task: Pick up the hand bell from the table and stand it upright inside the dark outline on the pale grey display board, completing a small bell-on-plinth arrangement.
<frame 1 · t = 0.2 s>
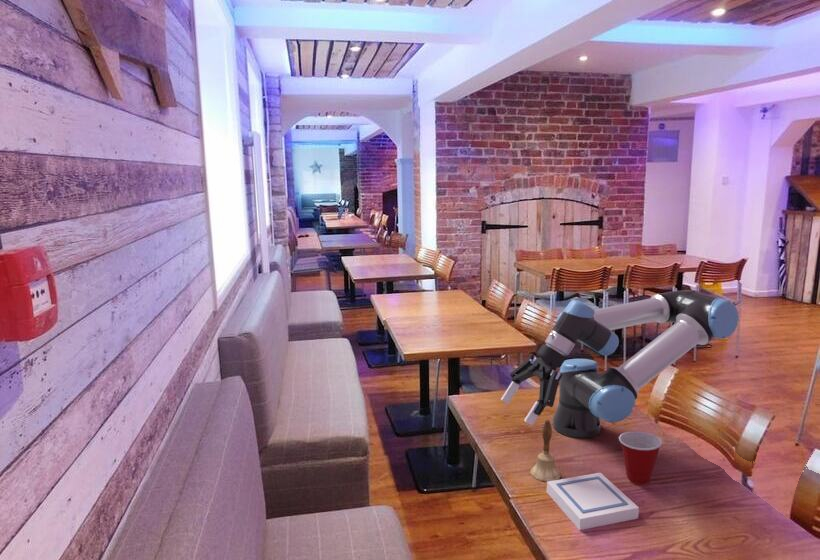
hand: (515, 412, 154), 16 cm above the table, tool tilted 35°, fingers open, 13 cm apart
display board: (590, 504, 136), on the table
plastic cup: (637, 478, 148), on the table
hand bell: (545, 474, 151), on the table
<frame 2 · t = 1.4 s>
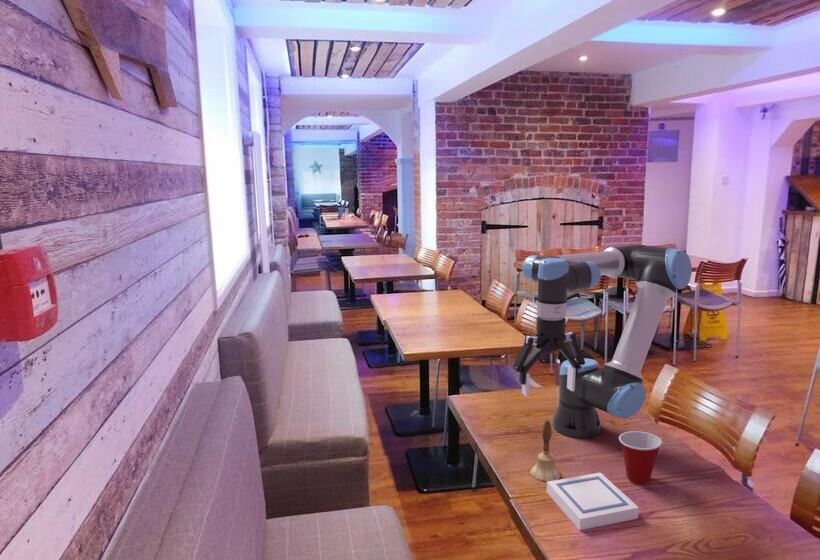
hand: (548, 392, 146), 24 cm above the table, tool pointing down, fingers open, 13 cm apart
nothing on the table moved.
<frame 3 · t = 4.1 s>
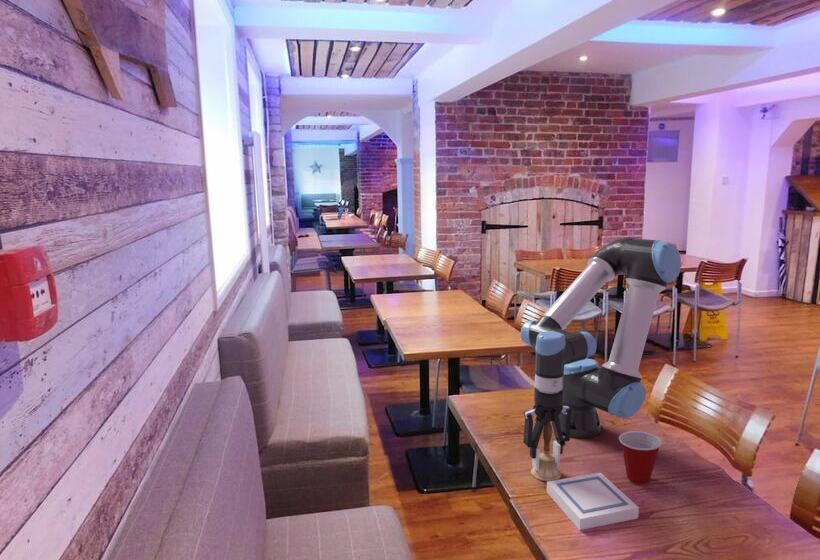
hand: (545, 465, 150), 2 cm above the table, tool pointing down, fingers closed on hand bell, 6 cm apart
hand bell: (545, 474, 151), on the table, touching gripper
everything else where it was.
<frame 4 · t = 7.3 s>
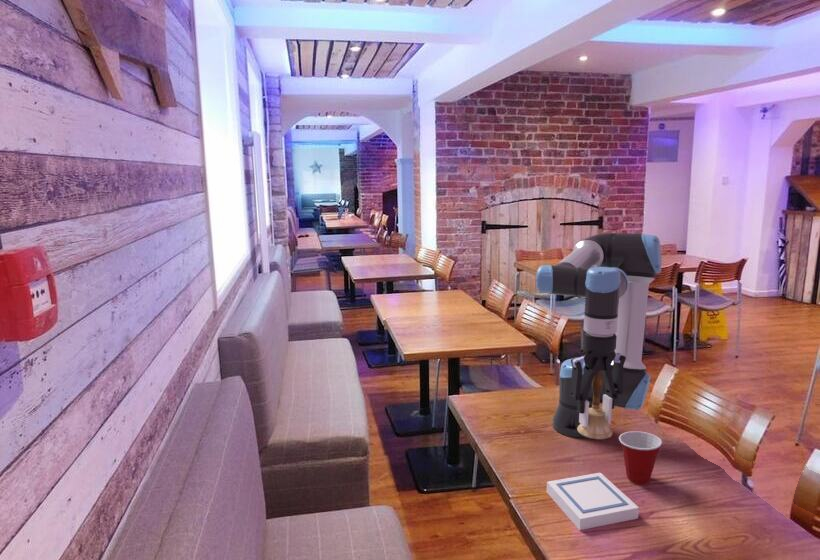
hand: (594, 422, 132), 23 cm above the table, tool pointing down, fingers closed on hand bell, 6 cm apart
hand bell: (594, 432, 132), point 20 cm above the table, touching gripper
everything else where it was.
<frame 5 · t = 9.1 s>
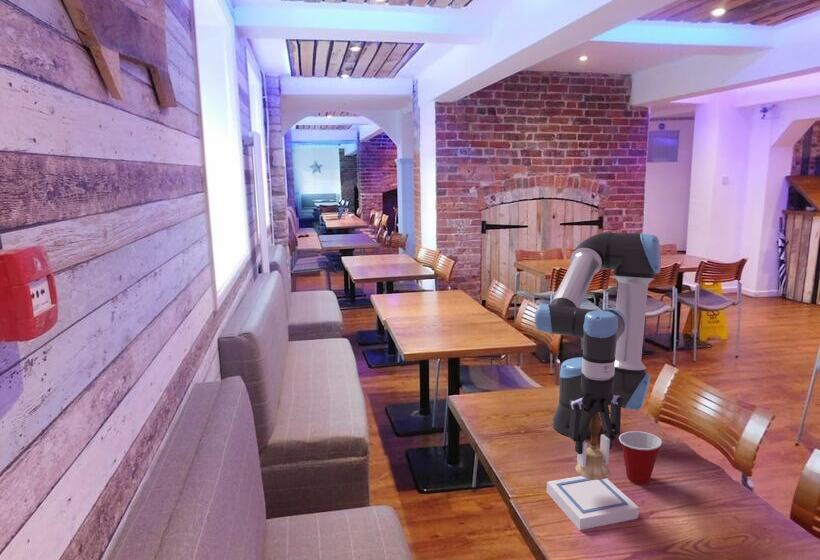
hand: (592, 462, 134), 12 cm above the table, tool pointing down, fingers closed on hand bell, 6 cm apart
hand bell: (592, 471, 134), point 9 cm above the table, touching gripper
everything else where it was.
when the fingers open (7 cm above the table, at t = 10.5 s): hand bell drops 1 cm, resting on display board.
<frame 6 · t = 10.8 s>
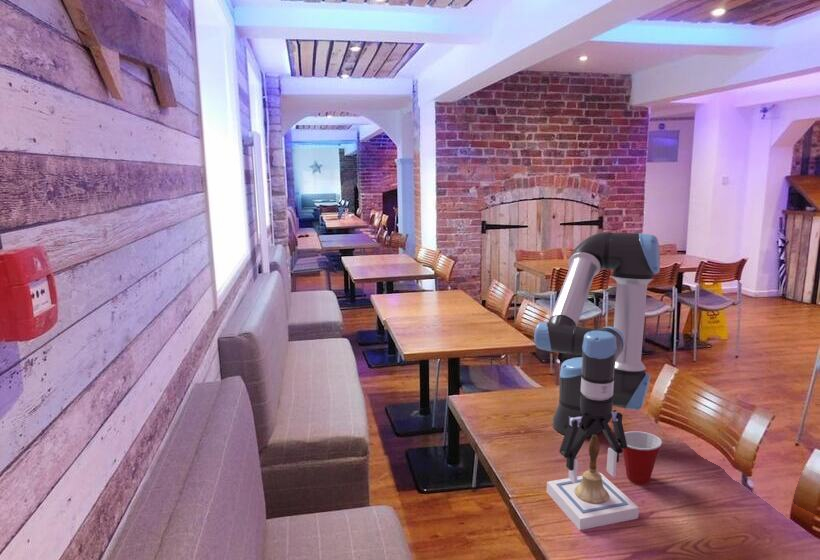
hand: (591, 477, 135), 8 cm above the table, tool pointing down, fingers open, 10 cm apart
hand bell: (591, 494, 136), point 3 cm above the table, touching display board
everything else where it was.
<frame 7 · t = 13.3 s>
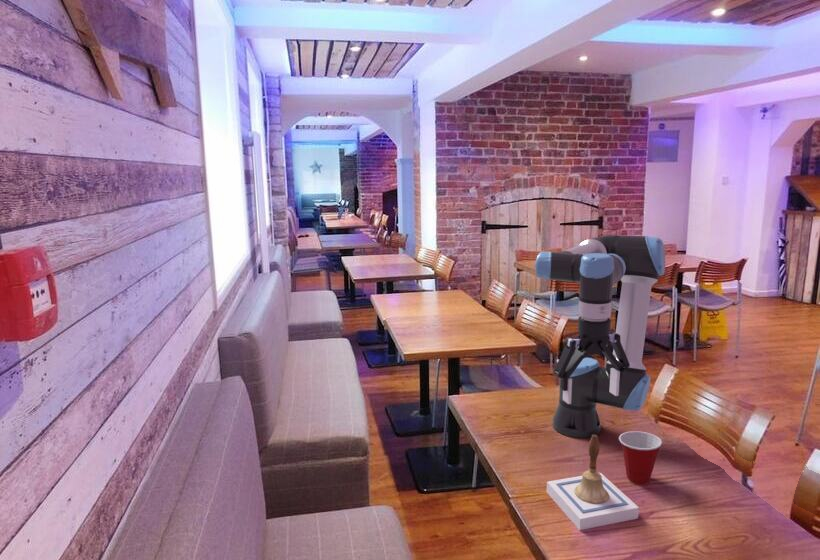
hand: (590, 397, 135), 27 cm above the table, tool pointing down, fingers open, 13 cm apart
nothing on the table moved.
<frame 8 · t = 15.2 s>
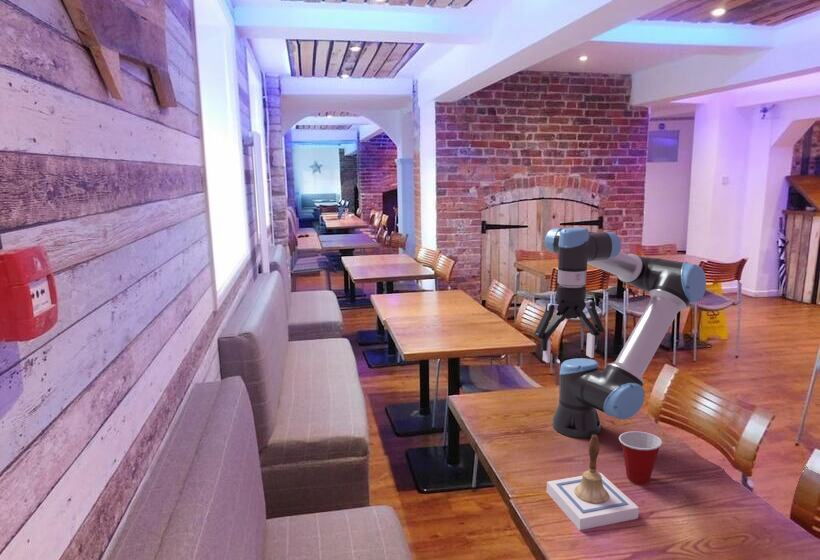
hand: (568, 359, 150), 32 cm above the table, tool pointing down, fingers open, 13 cm apart
nothing on the table moved.
at the end: hand bell inside the target area on the display board (0.2 cm from its centre), point 2.8 cm above the display board's base; hand bell tilted 0°; the gripper is holding nothing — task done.
